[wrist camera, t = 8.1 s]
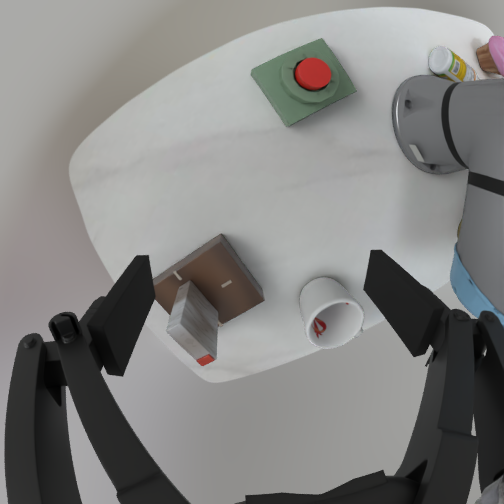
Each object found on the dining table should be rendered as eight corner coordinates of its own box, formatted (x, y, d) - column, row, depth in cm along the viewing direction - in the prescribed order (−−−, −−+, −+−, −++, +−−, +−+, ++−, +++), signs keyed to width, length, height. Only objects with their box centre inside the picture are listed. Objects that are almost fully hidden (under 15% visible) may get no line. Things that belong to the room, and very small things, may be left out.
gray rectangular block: (178, 287, 34) (165, 333, 25) (190, 279, 33) (179, 324, 25) (206, 318, 36) (202, 367, 27) (218, 312, 35) (216, 361, 27)
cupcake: (478, 80, 26) (517, 79, 17) (463, 38, 23) (499, 30, 14) (498, 80, 26) (533, 81, 17) (484, 41, 22) (518, 37, 13)
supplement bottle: (424, 56, 26) (462, 83, 28) (432, 78, 26) (470, 106, 27) (442, 39, 21) (480, 70, 23) (453, 60, 21) (491, 93, 22)
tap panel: (220, 232, 34) (219, 241, 32) (262, 289, 38) (265, 301, 35) (151, 279, 36) (145, 290, 33) (195, 327, 40) (193, 341, 37)
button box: (316, 43, 26) (327, 33, 22) (349, 93, 28) (363, 88, 25) (250, 74, 27) (253, 65, 23) (286, 126, 30) (293, 124, 26)
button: (314, 57, 23) (319, 53, 22) (331, 82, 25) (337, 79, 23) (288, 69, 24) (292, 64, 22) (306, 95, 25) (310, 92, 24)
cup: (364, 294, 40) (386, 323, 33) (331, 329, 42) (347, 362, 35) (317, 259, 37) (337, 288, 30) (282, 301, 39) (293, 336, 32)
